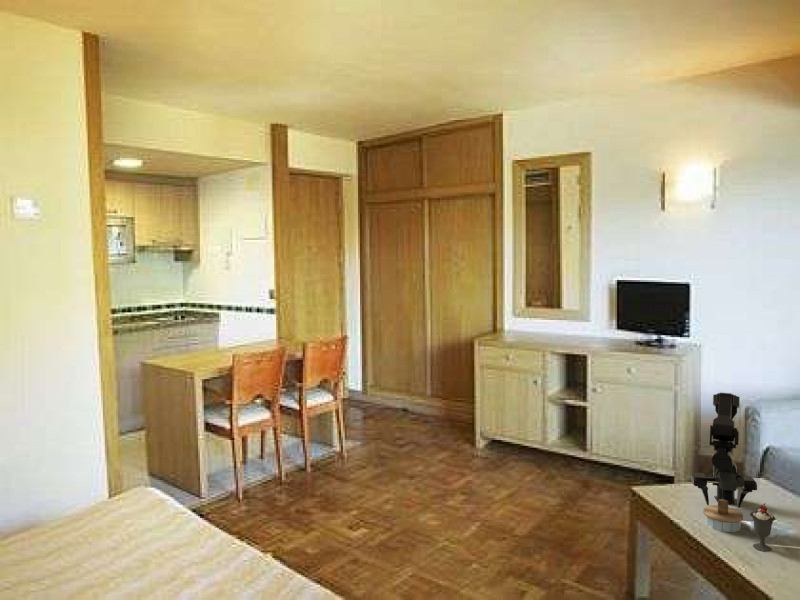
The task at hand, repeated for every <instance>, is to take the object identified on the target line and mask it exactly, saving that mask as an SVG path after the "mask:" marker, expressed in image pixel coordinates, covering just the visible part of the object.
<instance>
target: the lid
mask: <svg viewBox="0 0 800 600" xmlns="http://www.w3.org/2000/svg"><path fill="white" fill-rule="evenodd" d="M733 508H734V507H729V504H728V501H727V500H724V499H719V500H718V502H717V505H716V504H715V505H706V506H705V507H704V508H703V510H702V511H703V514H704V516H705V515H706V516H707V517H709V518H711V519H713V520H716V521H720V522H726V523H737V522H740V521H741V522H743V521H742V520H743V514H742V513H741V512H739V511H738V510H735V509H733Z"/></svg>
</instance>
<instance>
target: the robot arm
mask: <svg viewBox="0 0 800 600" xmlns="http://www.w3.org/2000/svg"><path fill="white" fill-rule="evenodd" d="M740 401H741V400H740V396H737V395H736V394H734V393H731V392H728V393H727V392H718V393H716V394H713V395H712V405H713V407H714V409H715V413H716V414H717V416H716V417H715V418H713V419H712V424H711V425H710V427H709V446H712V447H713V452H712V455H711V463H712V465H713V467H712V474H711V475H712V476H706V474H705V473H704V472H692V473H690V482H691V483H692V485H693V486H694V487H697V488H698V489H699V490H701V492H702V495H703V498H704V501H705V504H706V506H710V499H709V487H708V486H707V485H708V484H712V486H716V495H714V496H713V497H714V499H715V501H716V502H717V503H718V500H719V499H724V500H727V501H728V505H737V508H738V509H741V506H742V505H743V501H744V499H745V497H746V496H747V494H749V493H752V492H753V491H758V483H757V481H756V480H755V479H754V478H753V476H751V475H743V474H740V472H739V471H737V469H738V468H737V464H736V463H735V461H734V449H737V446H739V441H740V440H739V439H740V438H739V435H740V434H739V433H740V432H739V430H738V428H737V427H735V421H734V420H733V419H734V418H735V416H736V415H737V414H738V409H740V407H741V406H740V405H741V404H740ZM736 491H737V495H736V494H735V493H736ZM735 496H736V497H737V498H736V499H735Z"/></svg>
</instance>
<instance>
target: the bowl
mask: <svg viewBox="0 0 800 600" xmlns="http://www.w3.org/2000/svg"><path fill="white" fill-rule="evenodd" d="M704 516H705V523H706V525H707V526H708V527H709V528H710V529H714V530H716V531H720V532H723V533H724V532H725V533H735V532H738V531H740V530H741V527H742V525H741V523H742V521H740V522H737V523H726V522H720V521H716V520H713V519H711V518H709V517H707V516H706V515H705V514H704Z"/></svg>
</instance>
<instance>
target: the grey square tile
mask: <svg viewBox="0 0 800 600" xmlns="http://www.w3.org/2000/svg"><path fill="white" fill-rule="evenodd" d="M732 508H733V509H735V510H738V511H739V512H741V513H742V514H743V520H742V521H741V522H744V521H745V522H753V518H752V517H751V516H750V513H751V512H754V511H757V510H758V509H747V508H738V507H737V508H736V507H735V508H734V507H732Z"/></svg>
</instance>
